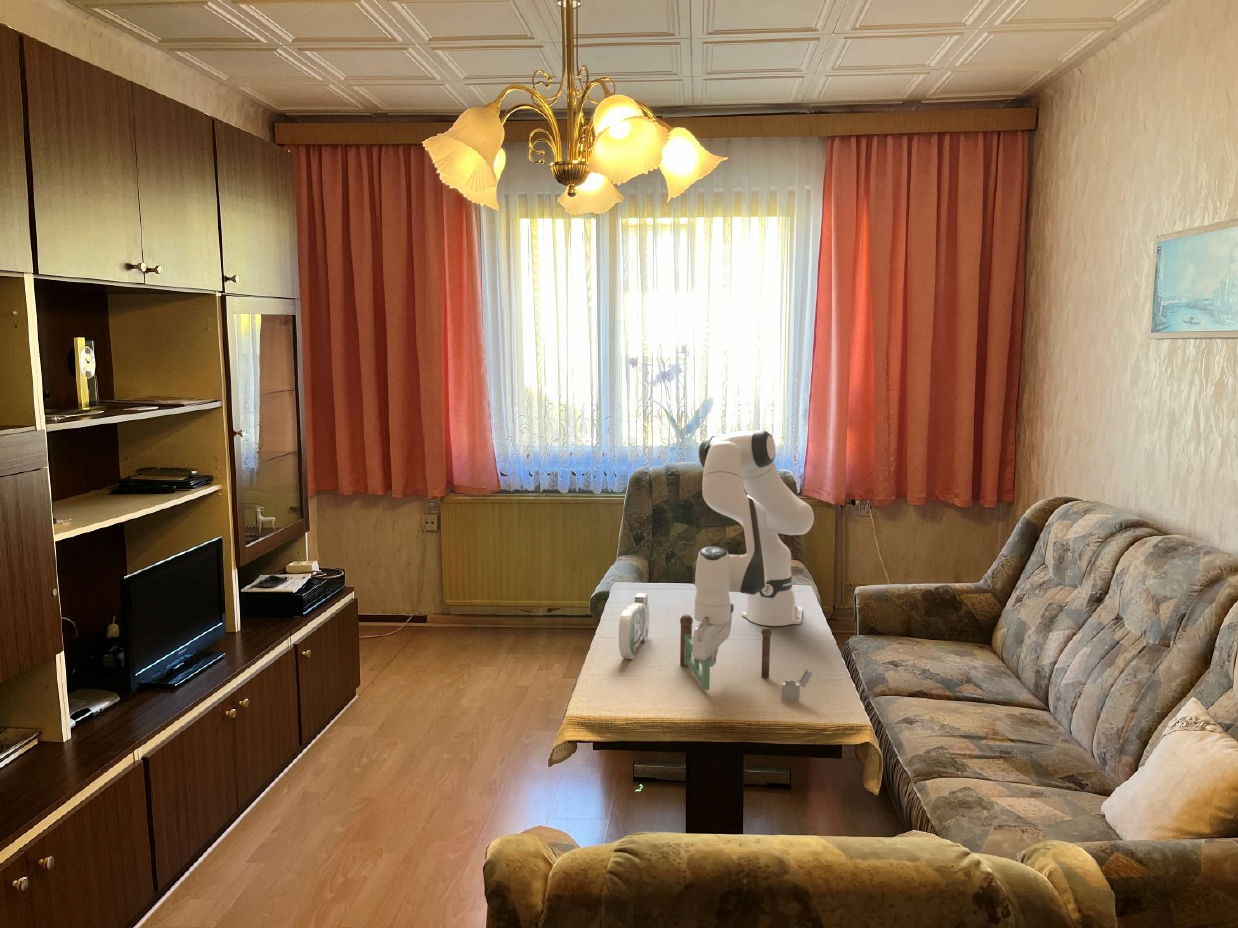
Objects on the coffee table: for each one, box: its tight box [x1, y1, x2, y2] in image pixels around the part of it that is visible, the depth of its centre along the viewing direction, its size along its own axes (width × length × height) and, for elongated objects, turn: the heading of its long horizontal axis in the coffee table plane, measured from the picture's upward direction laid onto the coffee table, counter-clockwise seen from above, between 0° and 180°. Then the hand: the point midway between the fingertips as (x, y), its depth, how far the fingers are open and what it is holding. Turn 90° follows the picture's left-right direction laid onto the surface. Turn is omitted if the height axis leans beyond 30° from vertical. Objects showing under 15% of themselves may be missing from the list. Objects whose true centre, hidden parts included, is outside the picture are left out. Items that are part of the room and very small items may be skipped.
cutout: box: [618, 592, 650, 660], centre depth 262 cm, size 15×3×25 cm
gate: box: [684, 634, 711, 691], centre depth 240 cm, size 2×19×8 cm, turn 10°
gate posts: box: [679, 614, 773, 679], centre depth 246 cm, size 3×25×14 cm, turn 66°
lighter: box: [780, 668, 813, 703], centre depth 227 cm, size 7×2×8 cm, turn 87°
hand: (711, 664), depth 236 cm, fingers closed
